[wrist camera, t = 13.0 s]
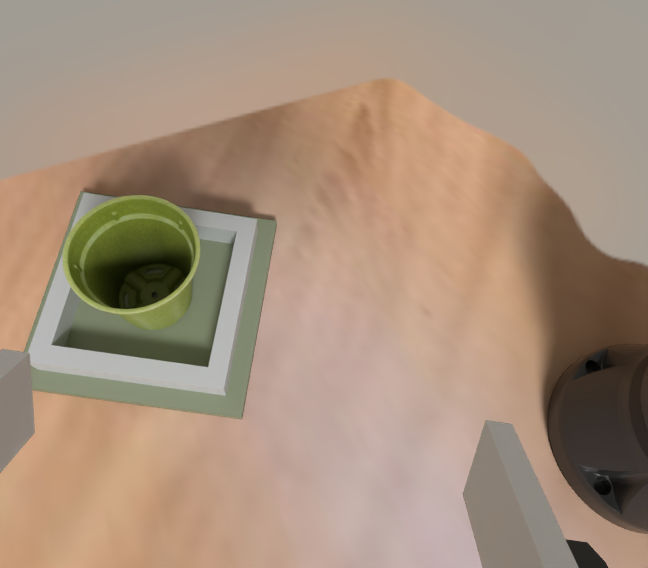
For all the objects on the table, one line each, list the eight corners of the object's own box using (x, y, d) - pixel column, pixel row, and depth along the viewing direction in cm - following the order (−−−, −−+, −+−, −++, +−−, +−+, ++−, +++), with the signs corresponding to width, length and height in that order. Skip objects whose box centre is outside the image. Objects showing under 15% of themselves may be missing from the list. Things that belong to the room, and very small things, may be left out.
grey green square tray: (276, 226, 51) (276, 206, 48) (242, 419, 44) (239, 411, 41) (84, 197, 50) (71, 175, 47) (17, 388, 43) (-3, 378, 40)
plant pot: (95, 255, 47) (59, 203, 39) (204, 239, 49) (191, 186, 41) (101, 358, 44) (64, 324, 36) (219, 338, 45) (208, 300, 37)
